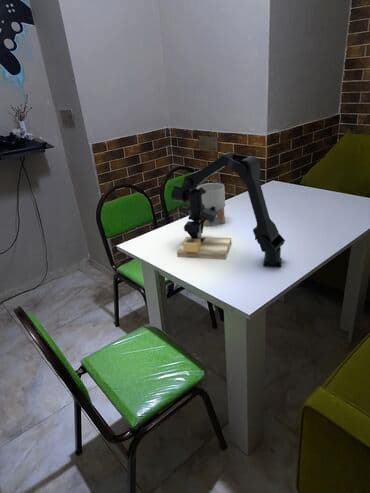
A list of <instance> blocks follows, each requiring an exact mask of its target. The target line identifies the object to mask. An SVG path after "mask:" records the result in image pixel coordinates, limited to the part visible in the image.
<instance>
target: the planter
mask: <svg viewBox="0 0 370 493" xmlns="http://www.w3.org/2000/svg"><path fill="white" fill-rule="evenodd" d="M201 187H202V188H203V189H204V190H205V191H206V193H205V194H203V195H202V203H203V204H204V205H205V208H207V209H208V208H209V209H210V208H211V207H212V206H214V207H216V211H217V215H216V218H217V219H219V220H220V225H224V224H225V223H226V220H225V218H226V215H225V207H226V198H225V197H226V192H225V190H226V189H225V185H224V184H223V183H221V182H220V183H219V182H208V183H203V184H202V185H200V186H198V187H196V189H199V188H201ZM209 222H210V221H208V220H205V221H204V227H209Z"/></svg>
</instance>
